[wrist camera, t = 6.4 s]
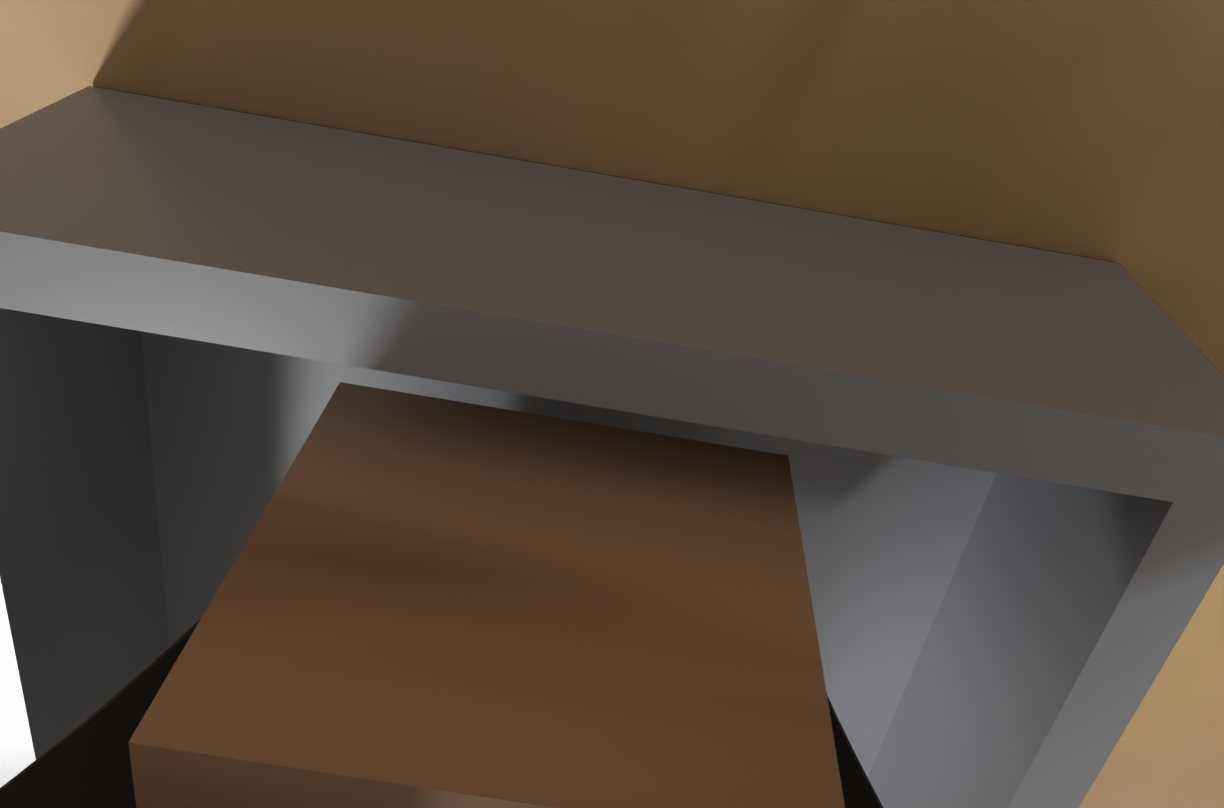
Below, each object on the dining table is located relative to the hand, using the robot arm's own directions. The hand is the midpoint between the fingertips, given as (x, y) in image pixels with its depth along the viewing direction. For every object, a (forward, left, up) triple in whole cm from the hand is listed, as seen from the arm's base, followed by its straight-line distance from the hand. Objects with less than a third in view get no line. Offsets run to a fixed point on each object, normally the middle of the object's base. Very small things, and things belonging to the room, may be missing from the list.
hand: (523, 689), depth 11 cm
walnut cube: (0, 0, -2) cm, 2 cm away
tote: (-4, 0, -5) cm, 7 cm away
